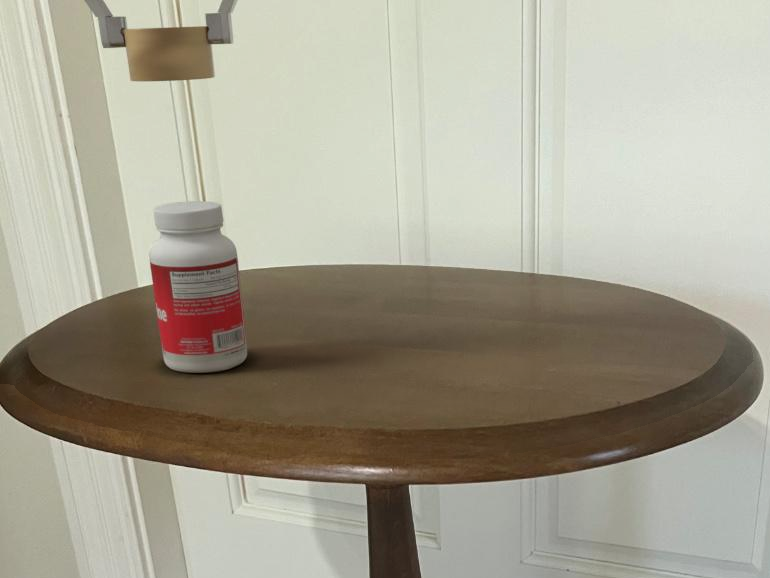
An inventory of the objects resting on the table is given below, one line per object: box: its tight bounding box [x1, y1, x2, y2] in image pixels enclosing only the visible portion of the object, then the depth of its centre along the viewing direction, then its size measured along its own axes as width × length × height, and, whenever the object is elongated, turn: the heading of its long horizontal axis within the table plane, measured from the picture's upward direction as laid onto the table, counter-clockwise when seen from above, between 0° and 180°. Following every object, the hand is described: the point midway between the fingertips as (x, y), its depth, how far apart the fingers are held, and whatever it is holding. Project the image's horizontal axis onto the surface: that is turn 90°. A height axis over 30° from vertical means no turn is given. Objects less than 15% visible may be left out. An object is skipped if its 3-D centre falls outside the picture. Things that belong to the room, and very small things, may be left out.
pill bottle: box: [148, 200, 248, 374], centre depth 78 cm, size 6×6×11 cm
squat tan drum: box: [123, 25, 216, 82], centre depth 71 cm, size 6×6×3 cm
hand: (169, 46), depth 71 cm, fingers closed on squat tan drum, 5 cm apart
